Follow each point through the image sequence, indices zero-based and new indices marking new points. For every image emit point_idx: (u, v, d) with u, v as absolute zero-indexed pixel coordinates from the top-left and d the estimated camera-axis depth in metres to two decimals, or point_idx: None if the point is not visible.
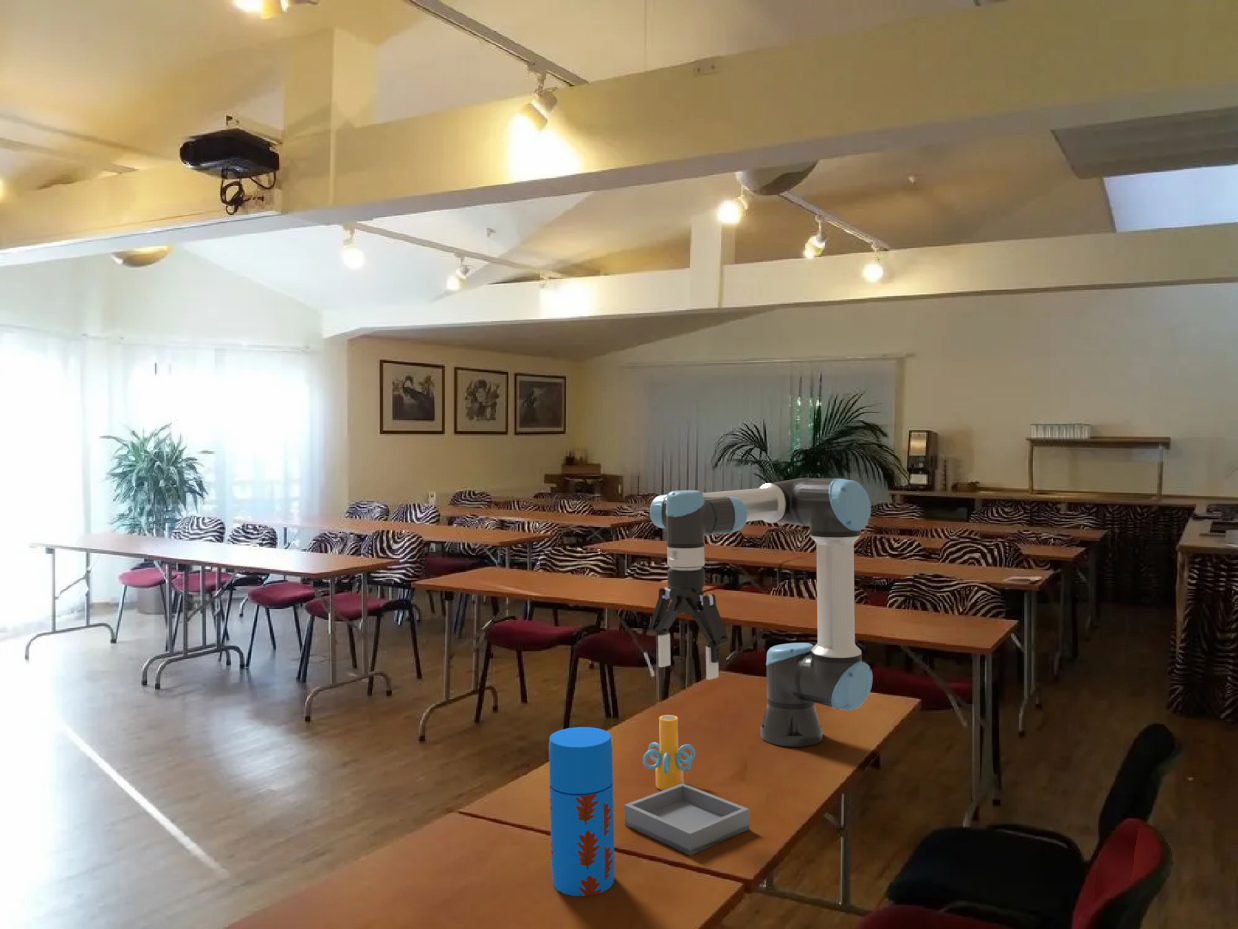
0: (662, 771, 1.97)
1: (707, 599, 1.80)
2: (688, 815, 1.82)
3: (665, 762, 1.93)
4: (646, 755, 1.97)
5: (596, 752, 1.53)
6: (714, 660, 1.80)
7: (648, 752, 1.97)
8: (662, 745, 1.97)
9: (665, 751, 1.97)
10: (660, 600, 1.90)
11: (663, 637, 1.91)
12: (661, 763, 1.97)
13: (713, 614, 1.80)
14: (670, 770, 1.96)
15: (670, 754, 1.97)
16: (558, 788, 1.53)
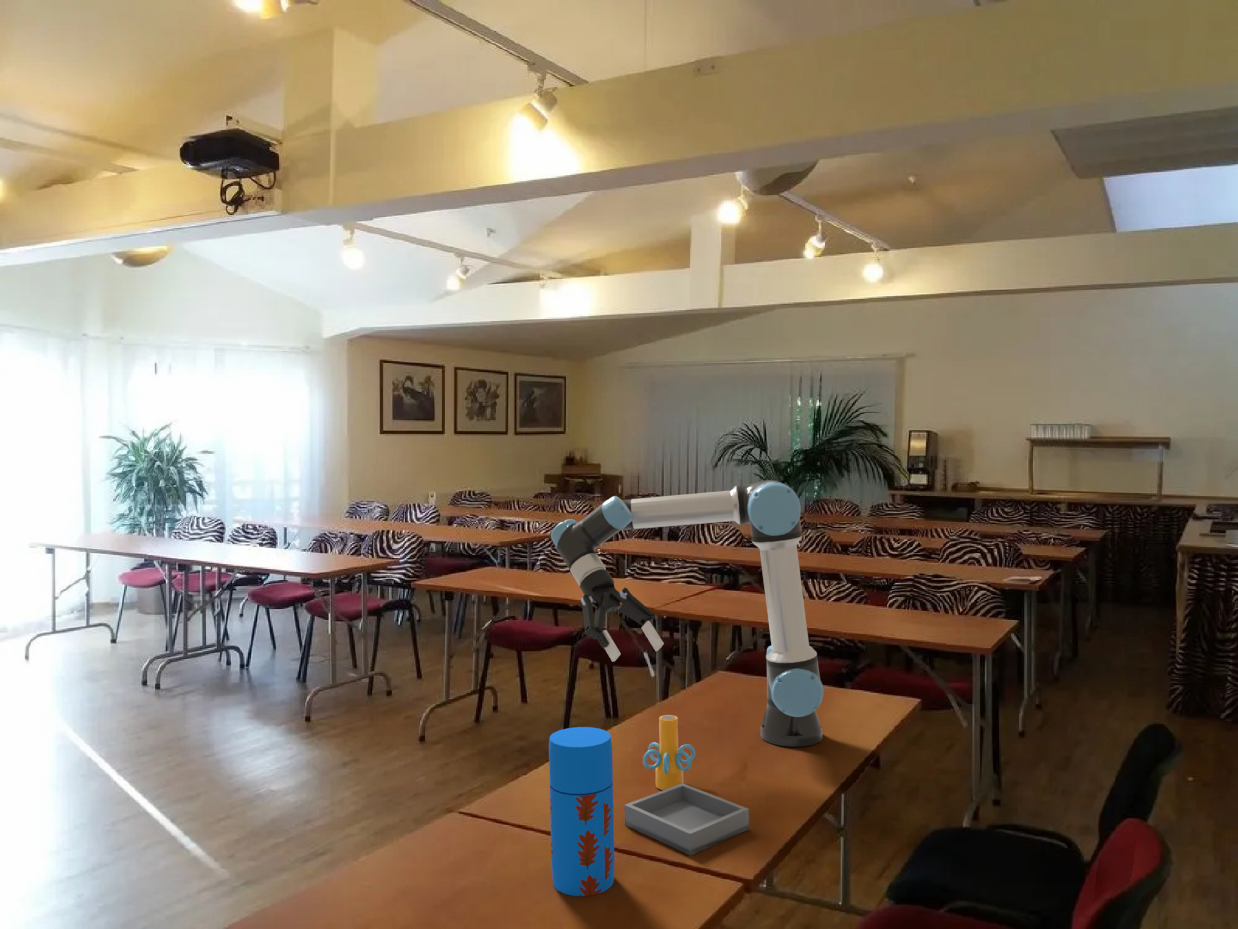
0: (662, 771, 1.97)
1: (580, 603, 2.08)
2: (688, 815, 1.82)
3: (665, 762, 1.93)
4: (646, 755, 1.97)
5: (596, 752, 1.53)
6: None
7: (648, 752, 1.97)
8: (662, 745, 1.97)
9: (665, 751, 1.97)
10: None
11: (643, 627, 2.12)
12: (661, 763, 1.97)
13: (584, 612, 2.06)
14: (670, 770, 1.96)
15: (670, 754, 1.97)
16: (558, 788, 1.53)
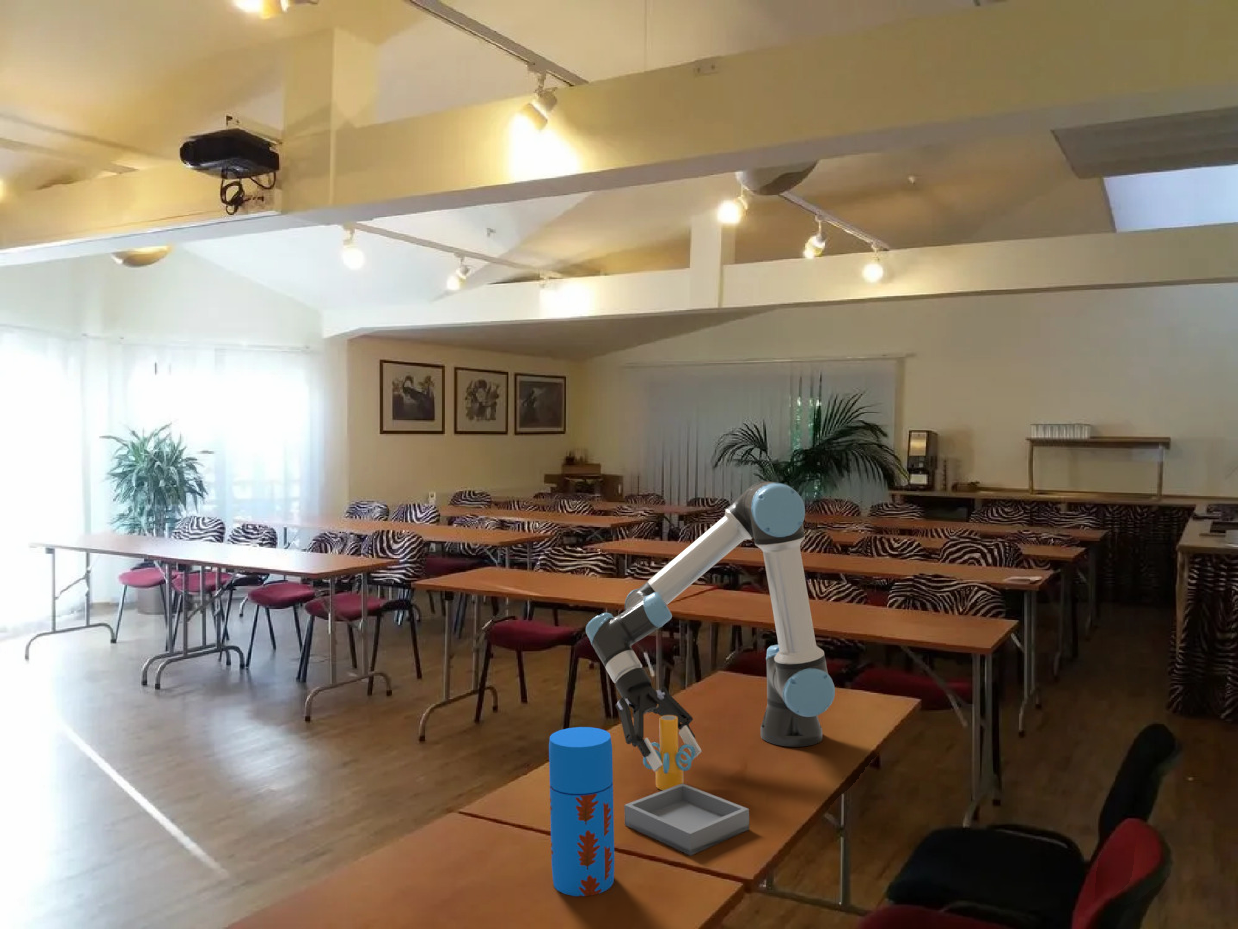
0: (662, 771, 1.97)
1: (616, 707, 2.01)
2: (688, 815, 1.82)
3: (665, 762, 1.93)
4: None
5: (596, 752, 1.53)
6: None
7: None
8: (662, 745, 1.97)
9: (665, 751, 1.97)
10: None
11: (680, 732, 2.04)
12: None
13: (622, 717, 1.99)
14: (670, 770, 1.96)
15: (670, 754, 1.97)
16: (558, 788, 1.53)
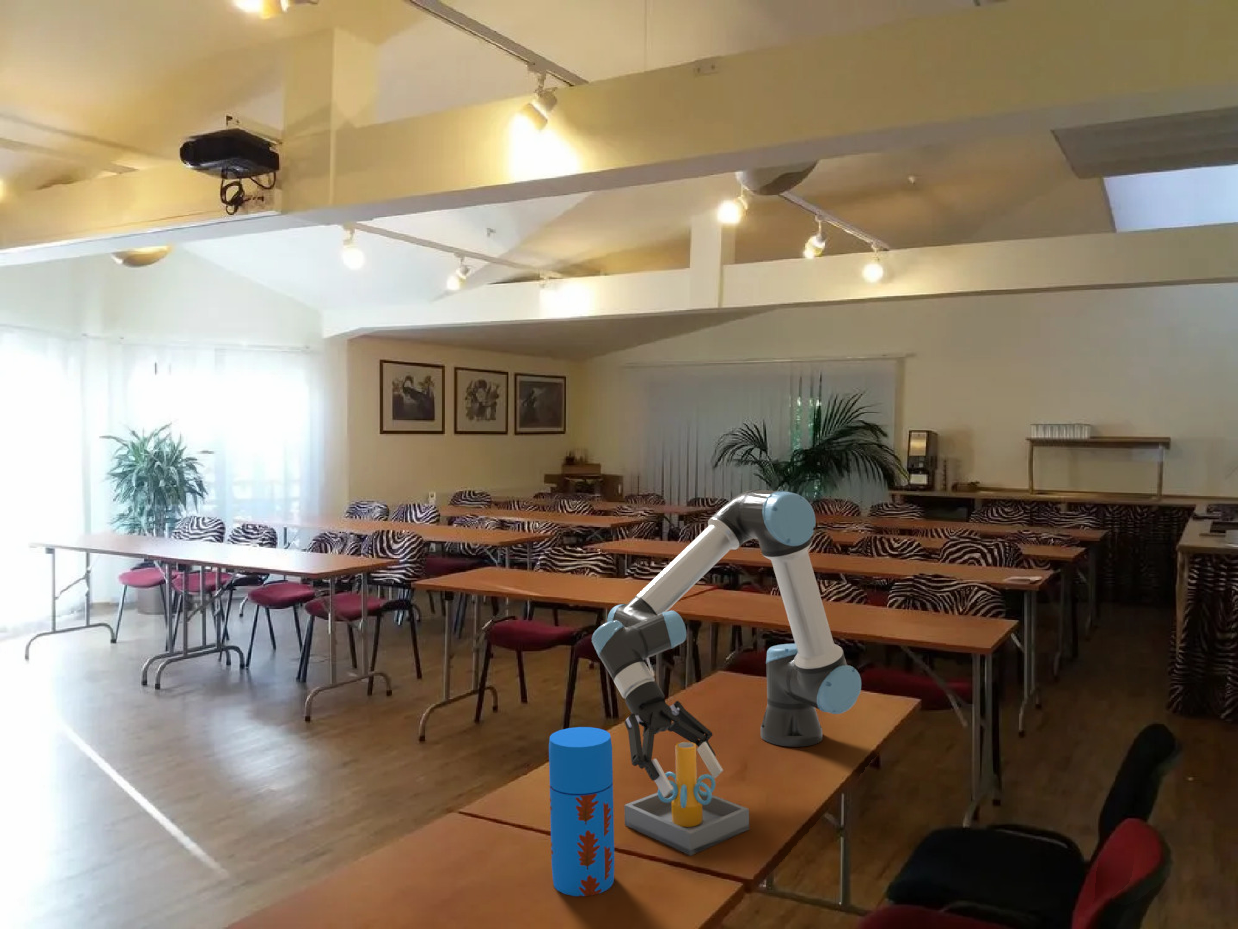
0: (679, 805, 1.76)
1: (625, 723, 1.80)
2: None
3: (682, 795, 1.73)
4: None
5: (596, 752, 1.53)
6: None
7: None
8: (679, 775, 1.77)
9: (682, 782, 1.77)
10: None
11: (699, 749, 1.84)
12: (678, 796, 1.77)
13: (630, 735, 1.78)
14: (688, 804, 1.76)
15: (688, 786, 1.76)
16: (558, 788, 1.53)
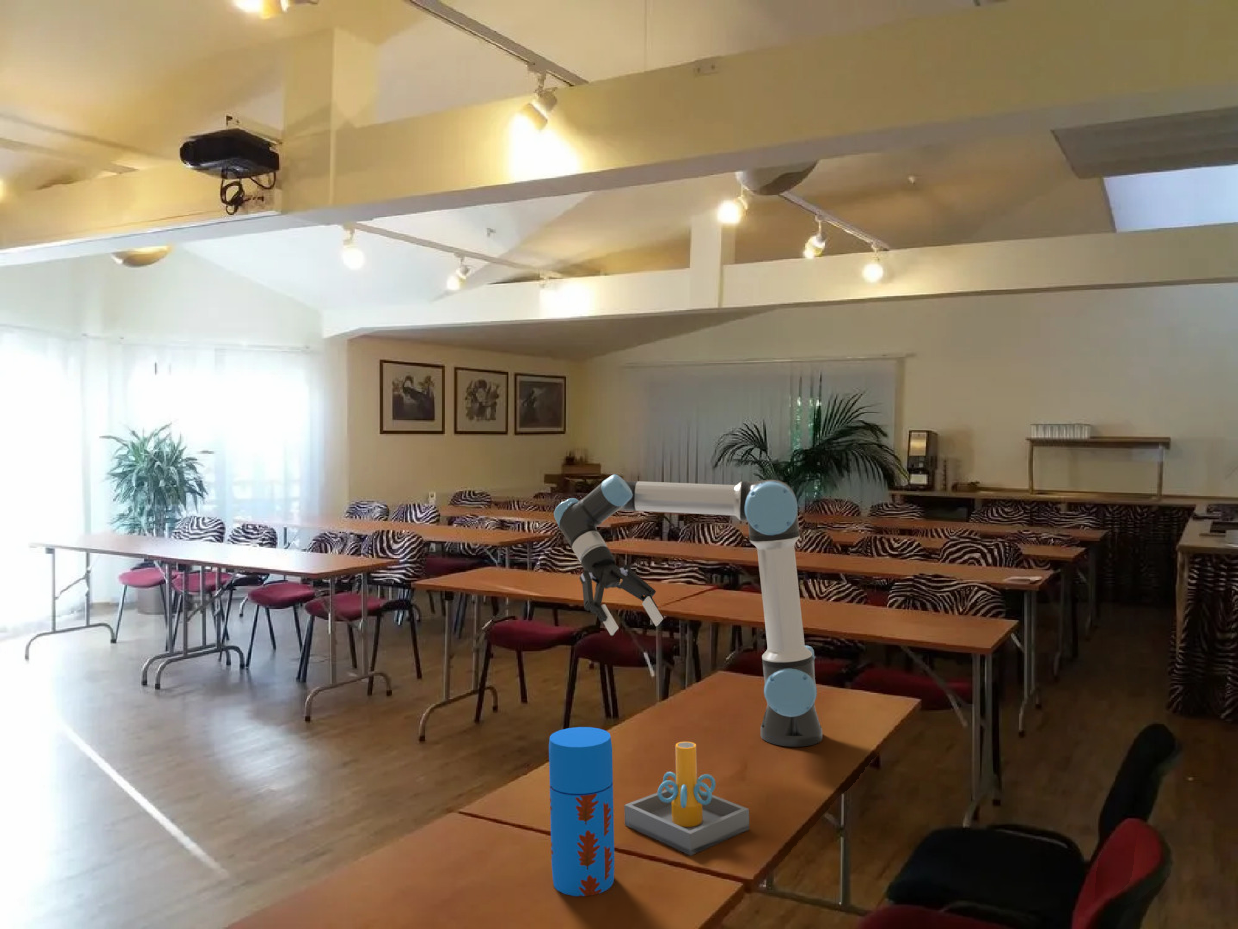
0: (679, 805, 1.76)
1: (580, 579, 2.12)
2: None
3: (683, 795, 1.73)
4: (661, 787, 1.76)
5: (596, 752, 1.53)
6: None
7: (663, 783, 1.76)
8: (679, 775, 1.77)
9: (682, 782, 1.77)
10: None
11: (644, 603, 2.16)
12: (678, 796, 1.77)
13: (584, 587, 2.10)
14: (688, 804, 1.76)
15: (688, 786, 1.76)
16: (558, 788, 1.53)
